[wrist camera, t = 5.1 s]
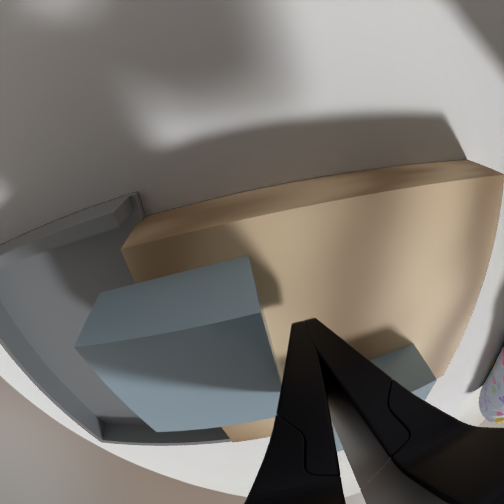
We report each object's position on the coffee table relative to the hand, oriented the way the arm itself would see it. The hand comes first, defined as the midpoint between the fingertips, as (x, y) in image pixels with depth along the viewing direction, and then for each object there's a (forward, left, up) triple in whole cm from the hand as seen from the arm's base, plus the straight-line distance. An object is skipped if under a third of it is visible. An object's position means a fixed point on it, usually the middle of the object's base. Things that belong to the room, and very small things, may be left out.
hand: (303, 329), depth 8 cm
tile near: (+4, 0, -1) cm, 4 cm away
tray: (+10, +3, -4) cm, 11 cm away
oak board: (-3, +3, -4) cm, 6 cm away
